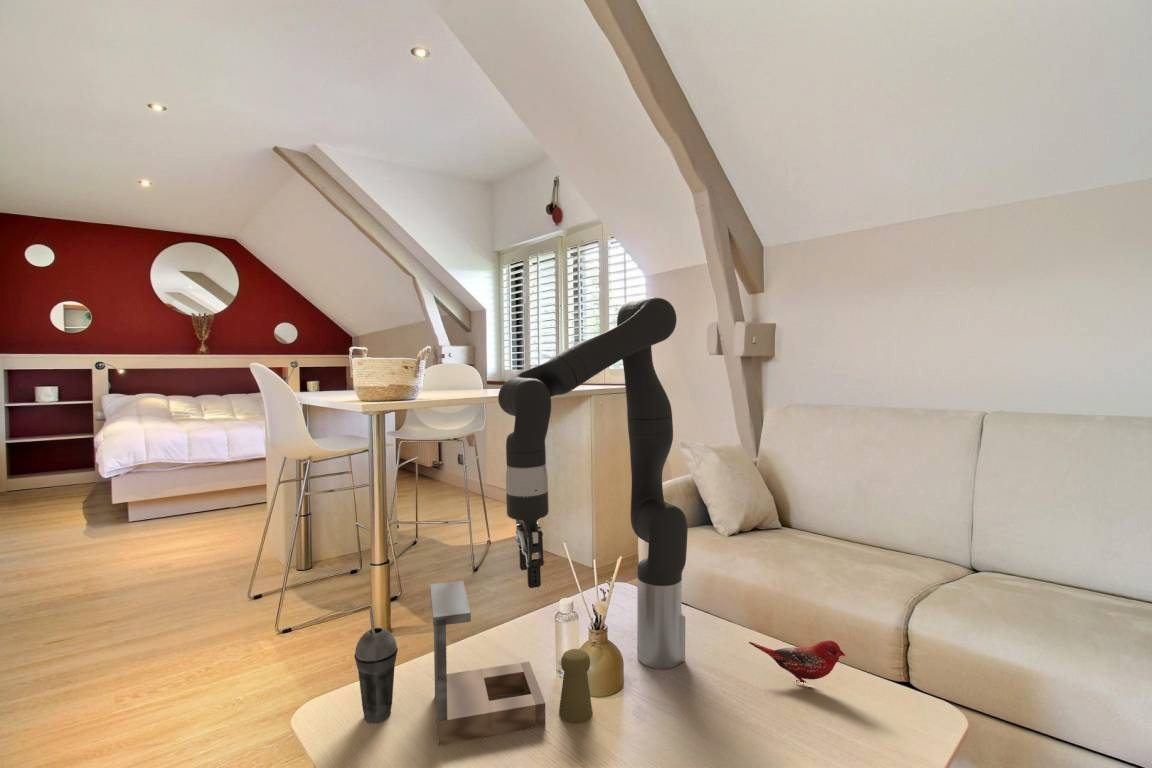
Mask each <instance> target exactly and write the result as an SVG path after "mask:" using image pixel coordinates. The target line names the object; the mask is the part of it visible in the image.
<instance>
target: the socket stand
mask: <svg viewBox="0 0 1152 768" xmlns="http://www.w3.org/2000/svg"><path fill="white" fill-rule="evenodd" d="M464 583H465V582H464V580H460V581H459V580H458V581H451V582H450V581H449V582H440V583H430V585H429V586H430V592H429V593H430V602H431V603H430V604H431V612H432V613H431V614H432V615H431V616H432V626H433V650H434V651H433V653H434V654H433V655H434V656H433V657H434V659H433V660H434V661H433V662H434V663H433V664H434V665H433V666H434V701H435V715H436V719H435V720H436V728H437V729H436V730H437V731H436V732H437V744H438V746H441V745H446V744H453V743H457V742H463V741H469V740H473V739H474V740H475V739H480V738H484V737H491V736H497V735H501V734H507V733H512V732H517V731H522V730H528V729H533V728H538V727H539V728H540V727H545V726H546V701H545V698H544V696H543V694H542V691H541V688H540V686H539V683H538V681H537V678H536V675H535V672H534V670H533V667H532V665H531V663H530V661H523V662H517V663H516V662H515V663H509V664H503V665H497V666H492V667H485V668H478V669H471V670H464V671H457V672H451V673H450V672H449V673H448V672H447V671H448V670H447V669H448V668H447V663H448V662H447V625H448V626H449V625H457V624H464V623H471V621H472V620H471V619H472V615H471V614H472V613H471V607H470V604H469V600H468V599H469V598H468V595H467V591H466V587H465V584H464ZM522 693H523V695H518V696H513V697H506V698H500V699H495V700H493V699H492V698H496V697H503V696H509V695H510V696H511V695H514V694H515V695H516V694H522ZM490 698H491V699H492V700H490Z"/></svg>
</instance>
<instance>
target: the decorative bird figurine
mask: <svg viewBox="0 0 1152 768" xmlns="http://www.w3.org/2000/svg"><path fill="white" fill-rule="evenodd" d="M748 644H749V645H752V646H753V647H754V648H756V649H758V650H759V651H761V652H763V653H765V654H767V655H768V656H770V658H771V659H772V660H774V661H775V663H776V664H777V665H778V666H779V667H780V668H782V669H784V670H785V671H787V672H788V673H790V674H792V675H793V676H794V677H795V678H796V679H795V680H796V682H797V681H800V682H803V683H804V682H805V683H806V682H807V681H806V680H819V679H822V678H824V677H826V676H828V675H829V674H830V673H831V672H832V671H833V669H834V668H835V666H836V664H837V663H838V662H839V659H840V657H843V656H844V657H847V655H846V654H845V653H844V652H843V650H842V649H841V647H840V646H839V644H838V643H837V642H836V641H834V640H824V641H820V642H818V643H817V644H815V645H812V646H805V647H804V646H803V647H802V646H801V647H799V646H798V647H795V646H794V647H784V648H779V649H771V648H768V647H766V646H763V645H760V644H757V643H755V642H751V641H748Z"/></svg>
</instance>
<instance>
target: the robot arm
mask: <svg viewBox="0 0 1152 768" xmlns="http://www.w3.org/2000/svg"><path fill="white" fill-rule="evenodd" d="M677 321H678V320H677V313H676V310H675V308H674V306H673V304H672V303H670V301H668V300H666V299H665V298H662V297H645V298H644V297H643V298H639V299H632V300H628V301H626V302H624V303H623V304H622V305H621V307H620V308H619V310H618V313H617V318H616V326H615V327H613V328H611V329H609V330H607V331H605V332H602V333H600V334H597V335H595V336H593V337H590V338H587V339H584V340H582V341H580V342H578V343H576V344H573V345H571V346H570V347H568V348H566V349H565V350H563V351H562V352H560V353H558V354H557V355H555V356H553V357H552V358H550V359H549V360H547V361H546V362H544V363H542V364H538V365H536V366H534V367H531V368H529V369H528V370H524V371H522V372H520V373H518V374H516V375H514V376H512V377H510V378H509V379H508V380H506V381H505V382H504V383H503V384H502V385H501V387H500V389H499V391H498V396H497V398H498V399H497V401H498V405H499V406H500V408H501V410H502V411H503V412H505V413H506V414H507V415H510V416H512V417H514V426H513V431H512V432H511V433H509V434H508V435H507V437H506V441H505V442H506V443H505V456H506V469H505V470H506V471H505V494H506V495H505V498H506V500H505V502H506V515H507V517H508V518H509V519H512V520H515V535H516V536H515V537H516V538H515V541H516V544H517V546H516V547H517V548H518V555H519V557H518V558H519V560H518V561H519V568H520V570H521V571H527V573H526V574H527V578H526V579H527V586H528V587H529V589H533V588H534V589H535V588H539V587H541V585H542V578H541V575H542V574H541V573H542V572H541V567H544V564H545V559H544V541H543V537H544V534H543V531H542V527H541V526H539V524H538V523H539V522H538V520H539V519H541V518H542V519H543V518H545V517H547V516H548V514H549V511H550V510H549V479H548V478H549V477H548V469H547V456H546V454H547V453H546V449H547V448H546V437H547V433H548V429H549V422H550V419H551V413H552V397H554V396H561V395H565V394H568V393H570V392H572V391H573V390H574V389H576V388H578V387H580V386H581V385H582V384H584V383H586V382H587V381H588V380H590V379H592V378H593V377H595V376H596V375H598V374H599V373H601V372H602V371H604V370H606V369H608V368H609V367H611V366H612V365H615V364H617V363H618V362H620V361H622V367H623V372H624V373H623V375H624V386H625V387H624V388H625V396H626V412H627V413H626V415H627V416H626V417H627V418H626V419H627V428H628V429H627V431H628V432H627V433H628V439H629V455H630V456H629V458H630V472H631V490H630V491H631V493H630V494H631V495H630V524H631V528H632V531H633V532H634V534H635V535H636V536H637V537H638V538H639V539H641V540H642V541H644V542H645V543H648V549H647V552H648V553H647V558H646V557H645V558H644V559H642V560H640V561H639V562H638V565H637V570H636V571H637V573H636V574H637V575H636V576H637V580H636V581H637V582H636V583H637V587H636V589H637V590H636V591H637V593H636V594H637V597H636V598H637V601H636V602H637V606H636V608H637V610H636V614H637V615H636V617H637V619H636V620H637V621H636V622H637V623H636V624H637V625H636V630H637V631H636V637H637V638H636V640H637V641H636V642H637V643H636V652H637V653H636V657H637V660H638V661H639V662H640V663H641V664H643V665H645V666H647V667H649V668H652V669H653V668H654V669H658V670H659V669H661V670H662V669H671V668H674V667H676V666H678V665H680V663H683V662H686V616H685V615H684V614H683V613H682V612H683V611H682V604H683V603H682V602H683V600H682V599H683V597H682V596H683V595H682V589H683V586H682V584H683V581H682V580H683V579H682V578H683V571H684V569H685V566H686V562H687V550H688V548H687V547H688V533H689V532H688V531H689V530H688V521H687V518H686V514H685V513H684V511H683V510H682V509H681V508H679V507H678V506H676V505H673V504H672V503H670V502H666V500H665V498H664V490H663V471H664V467H665V464H666V461H667V458H668V456H669V454H670V451H671V448H672V444H673V441H674V425H673V409H672V405H671V402H670V400H669V397H668V395H667V392H666V391H665V388H664V387H663V384H662V383H661V381H660V380H659V376H658V375H657V373H656V369H655V367H654V362H653V361H654V360H653V353H652V351H653V349H652V346H654V345H657V344H659V343H661V342H664V341H666V340H667V339H669V338H670V337H671V335H672V334H674V331H675V330H676V326H677ZM534 554H535V555H536V559H533V556H532V555H534Z"/></svg>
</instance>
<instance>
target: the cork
mask: <svg viewBox="0 0 1152 768" xmlns="http://www.w3.org/2000/svg"><path fill="white" fill-rule="evenodd" d="M560 665H561V669H562V671H563V676H562V677H563V678H562V684H561V685H562V686H561V692H560V693H561V694H560V700H559V701H560V702H559V709H558V715H559V717H560V719H562V720H563V721H564V722H565V723H566V722H567V723H568V724H569V723H570V724H582V723H586V722H587V721H589V720H590V719H591V718H592V716H593V707H592V700H591V699H592V698H591V692H590V685H589V676H588V671H589V670H590V667H591V659H590V655H589V654H588V652H586V651H585V650H583V649H581V648H571V649H569V650H566V651H564V652H563V654H562V656H561V659H560Z"/></svg>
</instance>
